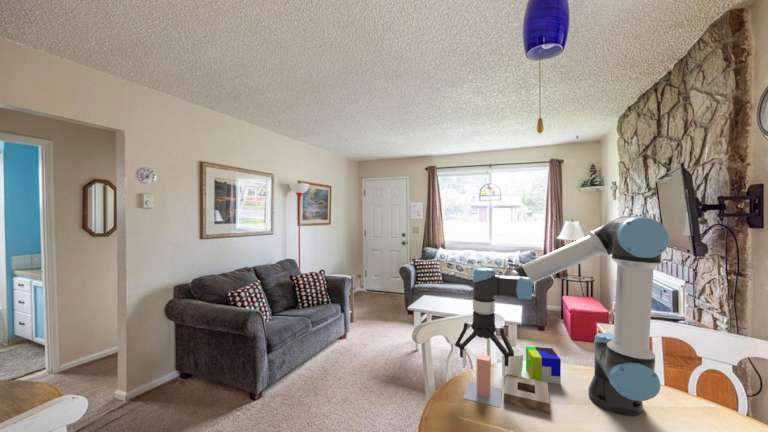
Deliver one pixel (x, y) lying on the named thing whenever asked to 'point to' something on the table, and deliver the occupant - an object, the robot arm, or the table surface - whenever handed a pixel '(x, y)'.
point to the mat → (472, 395)
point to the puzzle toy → (543, 364)
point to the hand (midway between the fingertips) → (483, 370)
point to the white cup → (515, 363)
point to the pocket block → (527, 394)
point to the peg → (483, 375)
